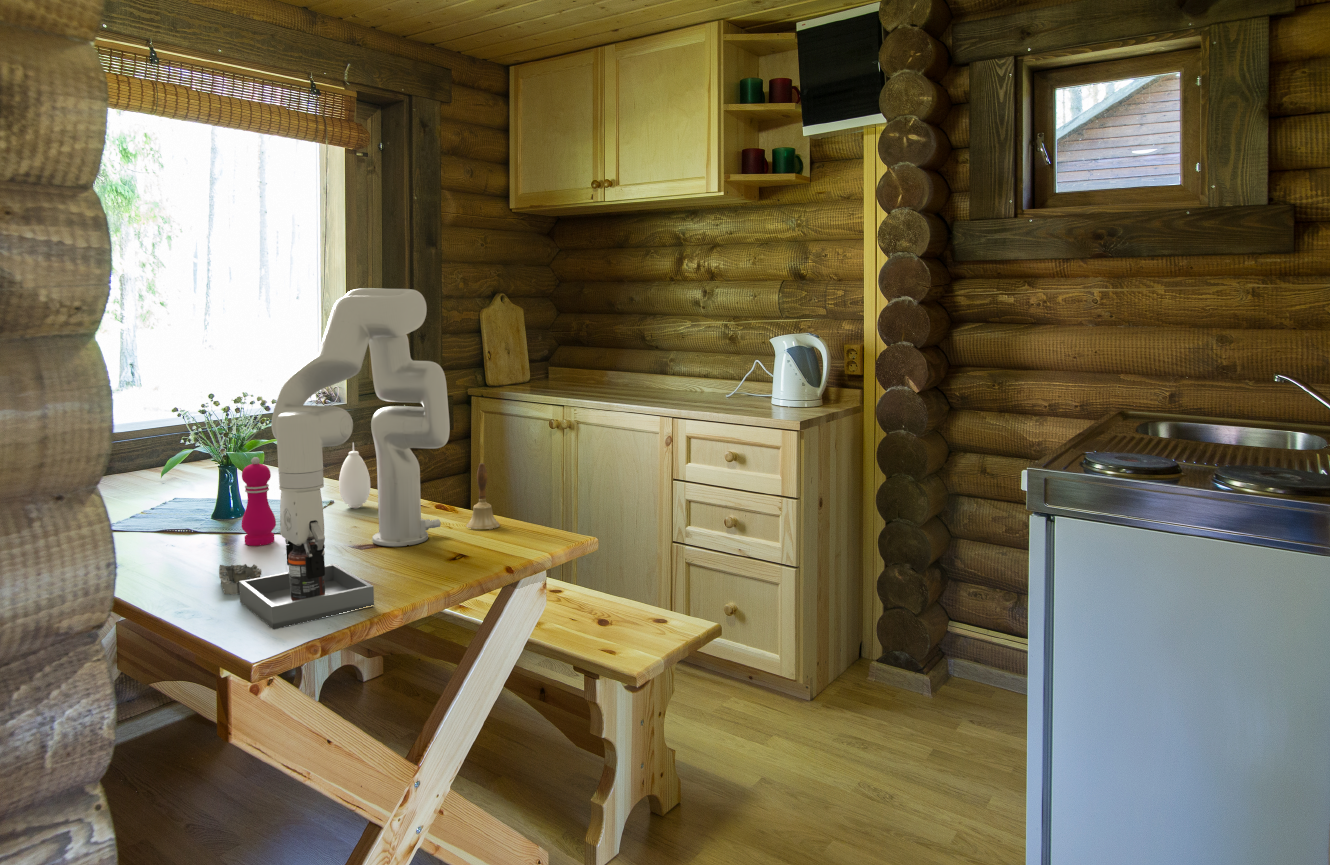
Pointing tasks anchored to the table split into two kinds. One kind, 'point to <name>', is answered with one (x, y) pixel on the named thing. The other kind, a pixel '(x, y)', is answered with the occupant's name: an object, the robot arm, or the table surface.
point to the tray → (279, 610)
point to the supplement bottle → (302, 576)
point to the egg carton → (236, 576)
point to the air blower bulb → (354, 480)
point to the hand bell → (482, 505)
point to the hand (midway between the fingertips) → (305, 570)
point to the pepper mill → (257, 505)
